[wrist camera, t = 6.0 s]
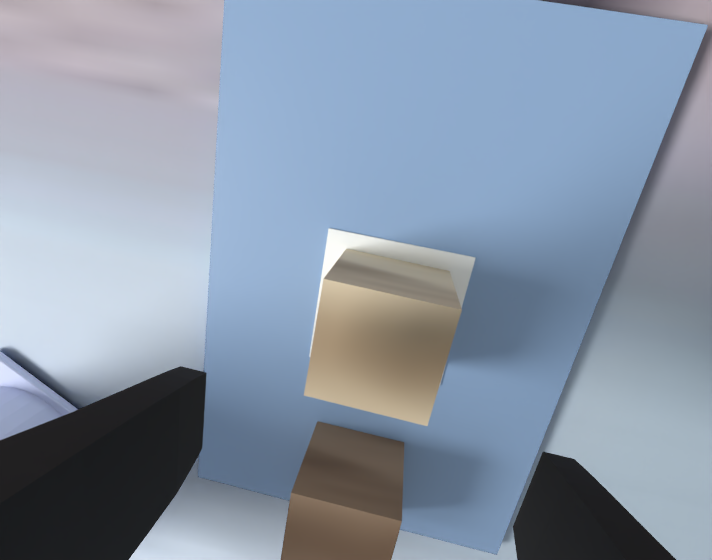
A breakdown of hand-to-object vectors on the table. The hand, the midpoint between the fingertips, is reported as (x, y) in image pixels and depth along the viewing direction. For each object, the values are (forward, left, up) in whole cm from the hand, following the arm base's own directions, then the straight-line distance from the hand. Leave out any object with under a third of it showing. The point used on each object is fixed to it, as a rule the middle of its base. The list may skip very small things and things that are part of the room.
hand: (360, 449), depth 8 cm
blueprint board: (0, 0, -8) cm, 8 cm away
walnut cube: (-7, -4, -8) cm, 11 cm away
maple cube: (0, 0, -8) cm, 8 cm away
